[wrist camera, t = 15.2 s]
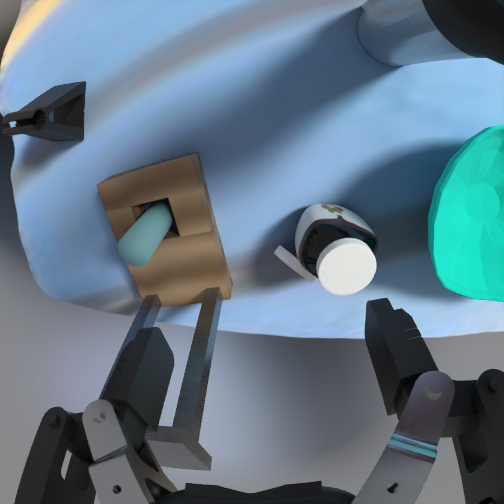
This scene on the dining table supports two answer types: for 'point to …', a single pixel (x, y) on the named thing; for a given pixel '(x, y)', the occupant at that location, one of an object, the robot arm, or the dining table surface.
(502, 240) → the table top decor
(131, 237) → the peg
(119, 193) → the sheltered socket
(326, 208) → the spread jar
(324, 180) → the dining table surface
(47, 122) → the phone stand
